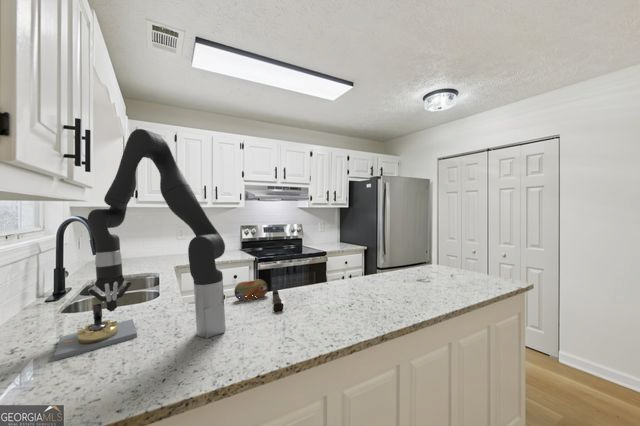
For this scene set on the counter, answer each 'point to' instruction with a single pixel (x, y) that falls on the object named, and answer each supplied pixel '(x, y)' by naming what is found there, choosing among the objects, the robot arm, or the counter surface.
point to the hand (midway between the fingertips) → (111, 310)
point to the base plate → (72, 347)
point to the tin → (251, 289)
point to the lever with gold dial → (97, 328)
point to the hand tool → (277, 302)
